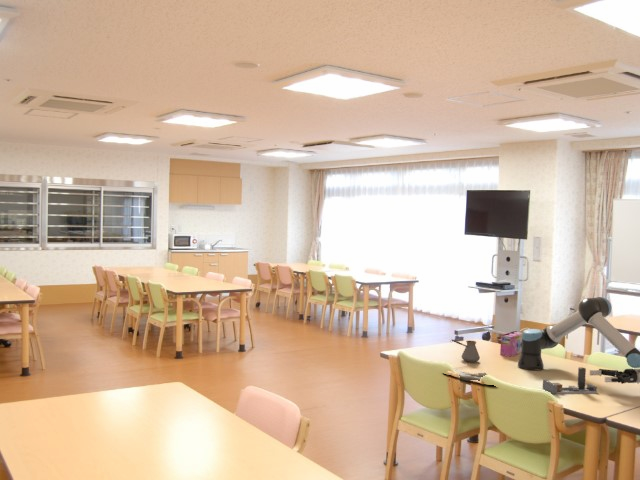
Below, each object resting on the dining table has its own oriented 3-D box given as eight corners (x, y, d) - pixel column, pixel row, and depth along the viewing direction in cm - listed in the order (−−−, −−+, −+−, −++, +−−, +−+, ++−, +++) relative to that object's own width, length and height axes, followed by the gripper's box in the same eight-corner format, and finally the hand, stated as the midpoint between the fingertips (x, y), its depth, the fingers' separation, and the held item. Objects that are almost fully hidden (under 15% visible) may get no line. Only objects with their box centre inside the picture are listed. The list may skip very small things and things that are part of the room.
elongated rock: (448, 374, 355) (438, 377, 348) (448, 365, 355) (438, 368, 348) (501, 384, 329) (492, 388, 322) (501, 375, 329) (491, 379, 322)
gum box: (514, 349, 421) (515, 330, 421) (525, 351, 416) (526, 332, 416) (499, 354, 404) (500, 335, 403) (510, 356, 398) (511, 336, 398)
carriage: (573, 391, 315) (574, 369, 314) (568, 389, 320) (569, 367, 319) (588, 391, 316) (590, 369, 316) (583, 388, 321) (584, 366, 320)
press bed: (553, 396, 310) (553, 388, 310) (542, 390, 321) (542, 382, 321) (599, 396, 314) (599, 388, 314) (586, 389, 325) (587, 382, 324)
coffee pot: (472, 358, 389) (473, 336, 389) (483, 363, 379) (484, 339, 378) (444, 360, 381) (445, 337, 381) (455, 365, 371) (456, 341, 370)
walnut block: (555, 392, 314) (555, 384, 314) (551, 390, 318) (551, 382, 318) (562, 392, 314) (562, 384, 314) (558, 390, 318) (558, 382, 318)
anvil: (553, 394, 310) (553, 385, 310) (542, 388, 321) (542, 380, 321) (556, 394, 310) (557, 385, 310) (546, 388, 321) (546, 380, 321)
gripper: (648, 389, 310) (611, 389, 307) (618, 376, 335) (583, 376, 332) (649, 375, 310) (612, 375, 307) (619, 363, 334) (584, 363, 331)
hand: (597, 376), depth 319 cm, fingers open, 13 cm apart
